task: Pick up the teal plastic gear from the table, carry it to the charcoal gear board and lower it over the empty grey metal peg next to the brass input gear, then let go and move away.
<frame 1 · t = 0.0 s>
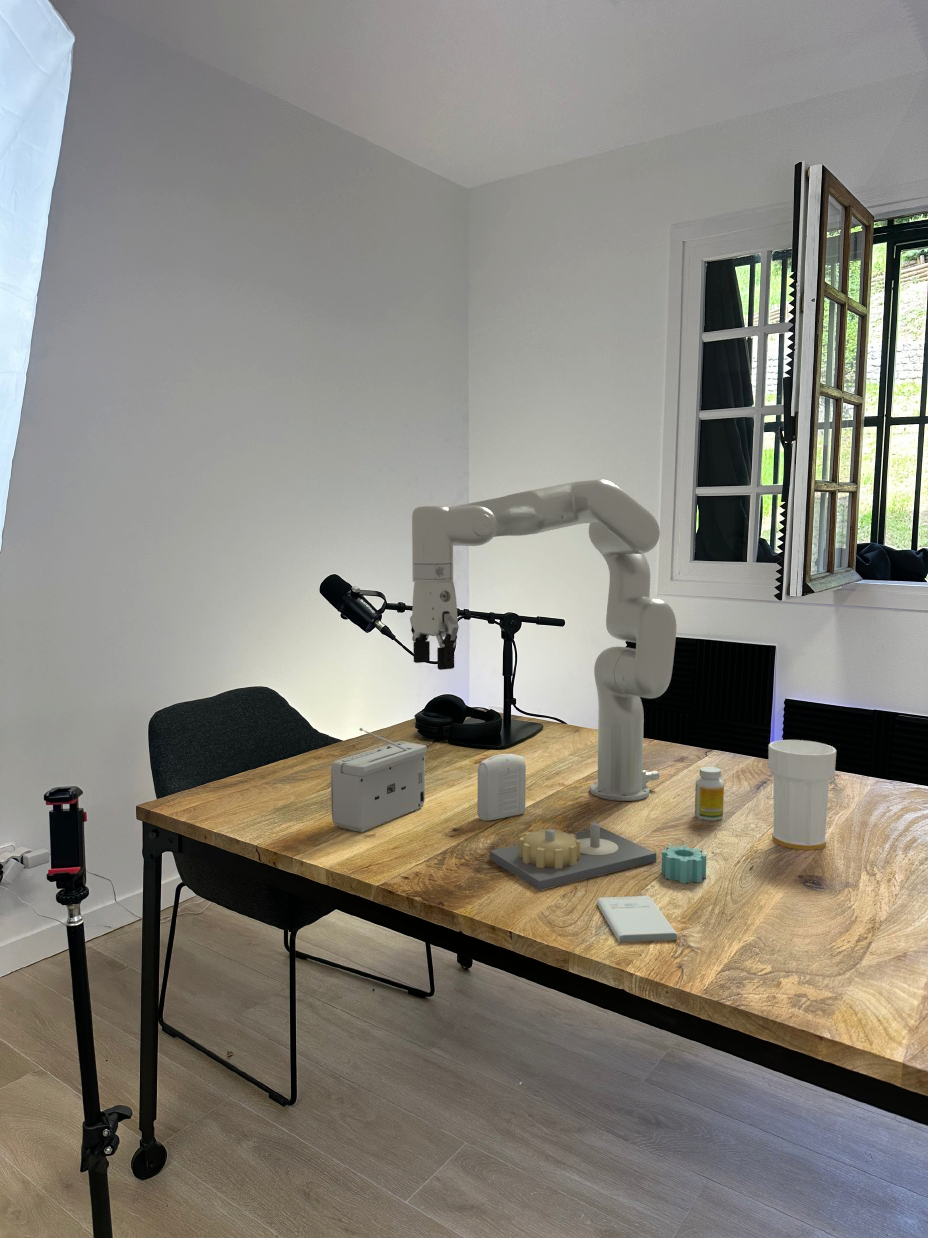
hand: (433, 665, 158), 31 cm above the table, tool pointing down, fingers open, 9 cm apart
supplement bottle: (708, 817, 168), on the table
cup: (798, 842, 154), on the table
stereo radio cassette player: (381, 818, 168), on the table
teal gear: (683, 874, 139), on the table
gear board: (572, 860, 145), on the table
external hard drive: (635, 926, 122), on the table
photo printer: (501, 816, 169), on the table
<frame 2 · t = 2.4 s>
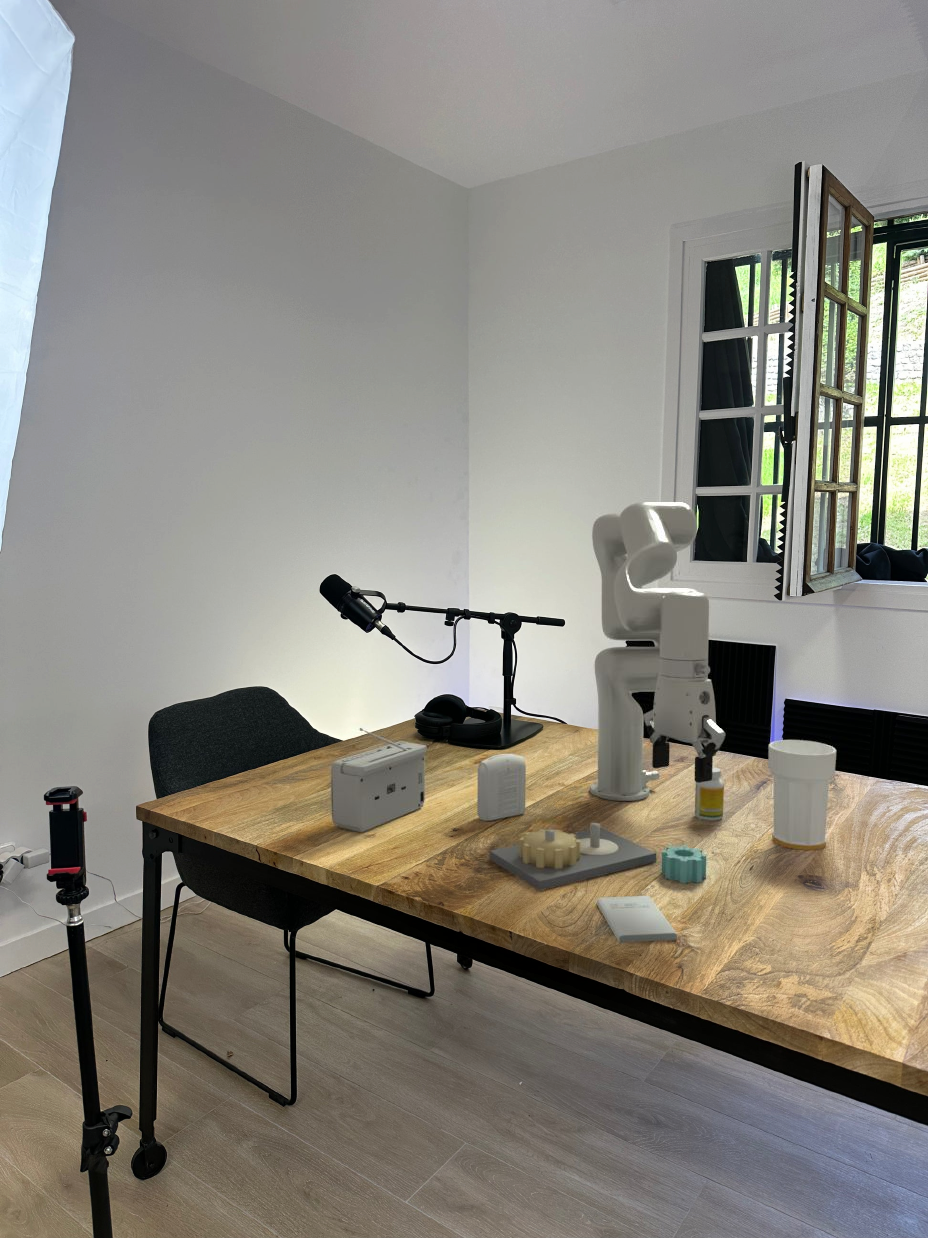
hand: (681, 774, 137), 17 cm above the table, tool pointing down, fingers open, 9 cm apart
nothing on the table moved.
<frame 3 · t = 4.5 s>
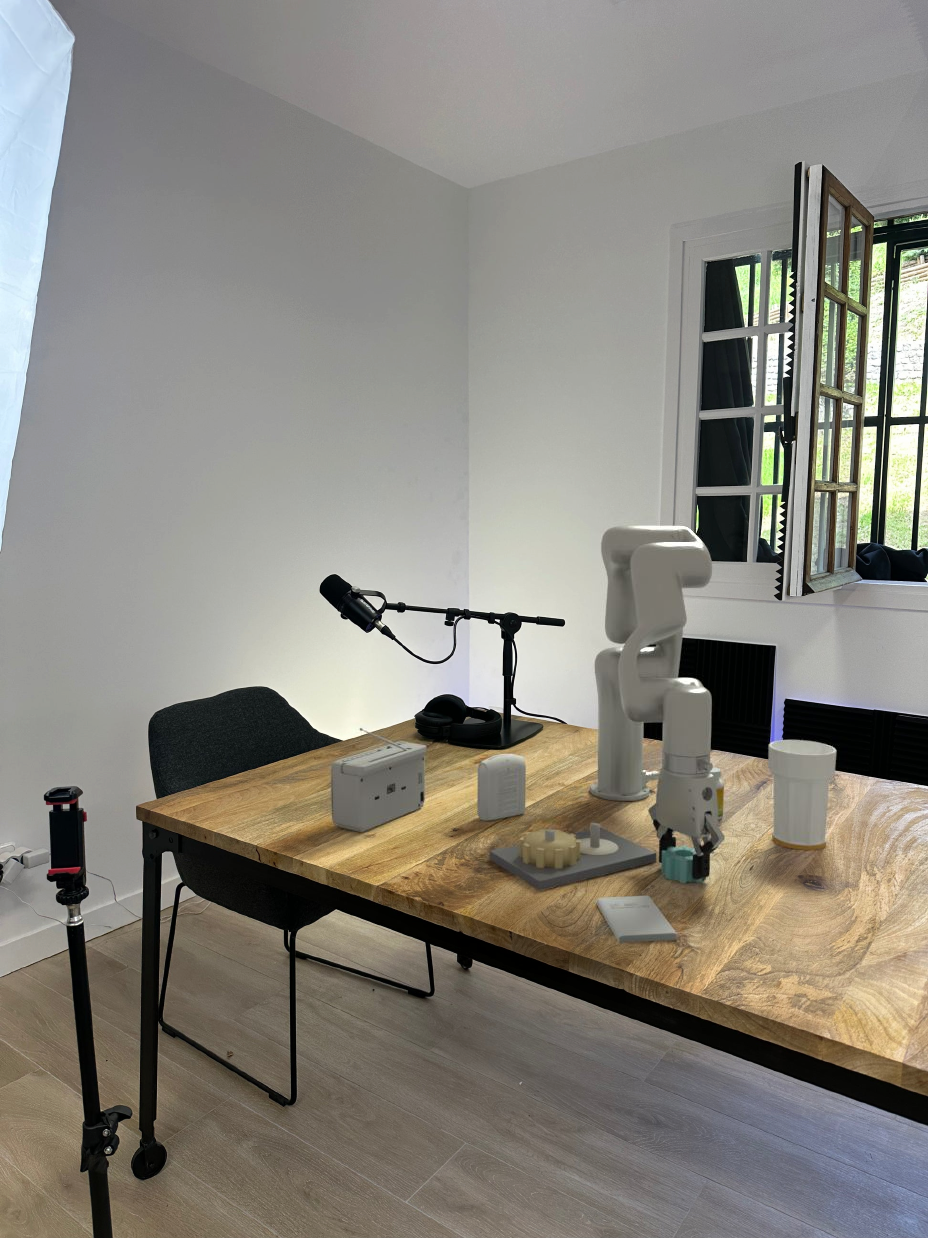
hand: (683, 868, 139), 1 cm above the table, tool pointing down, fingers closed on teal gear, 7 cm apart
teal gear: (683, 874, 139), on the table, touching gripper
everything else where it was.
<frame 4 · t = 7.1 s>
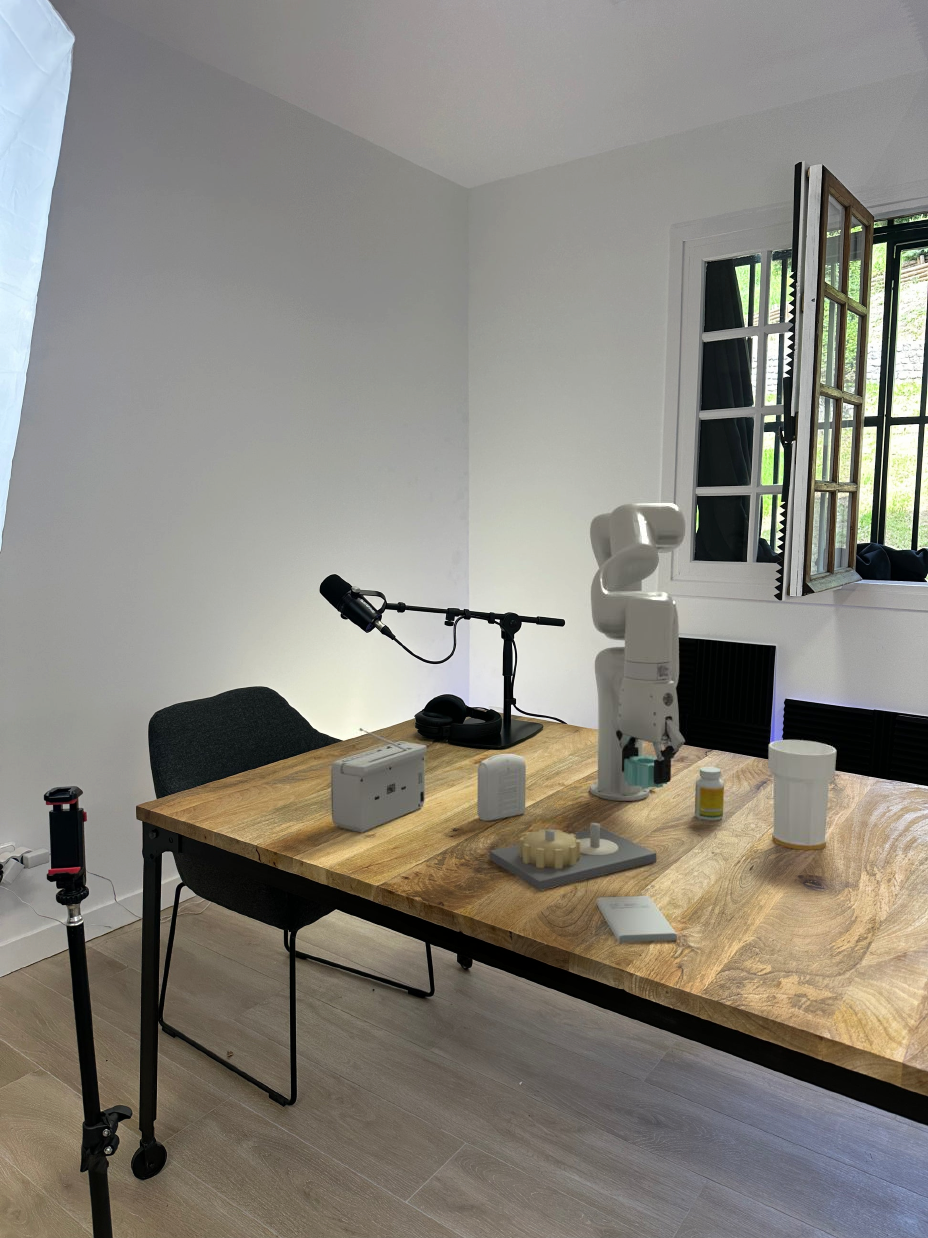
hand: (645, 776, 141), 15 cm above the table, tool pointing down, fingers closed on teal gear, 7 cm apart
teal gear: (645, 782, 141), point 14 cm above the table, touching gripper
everything else where it was.
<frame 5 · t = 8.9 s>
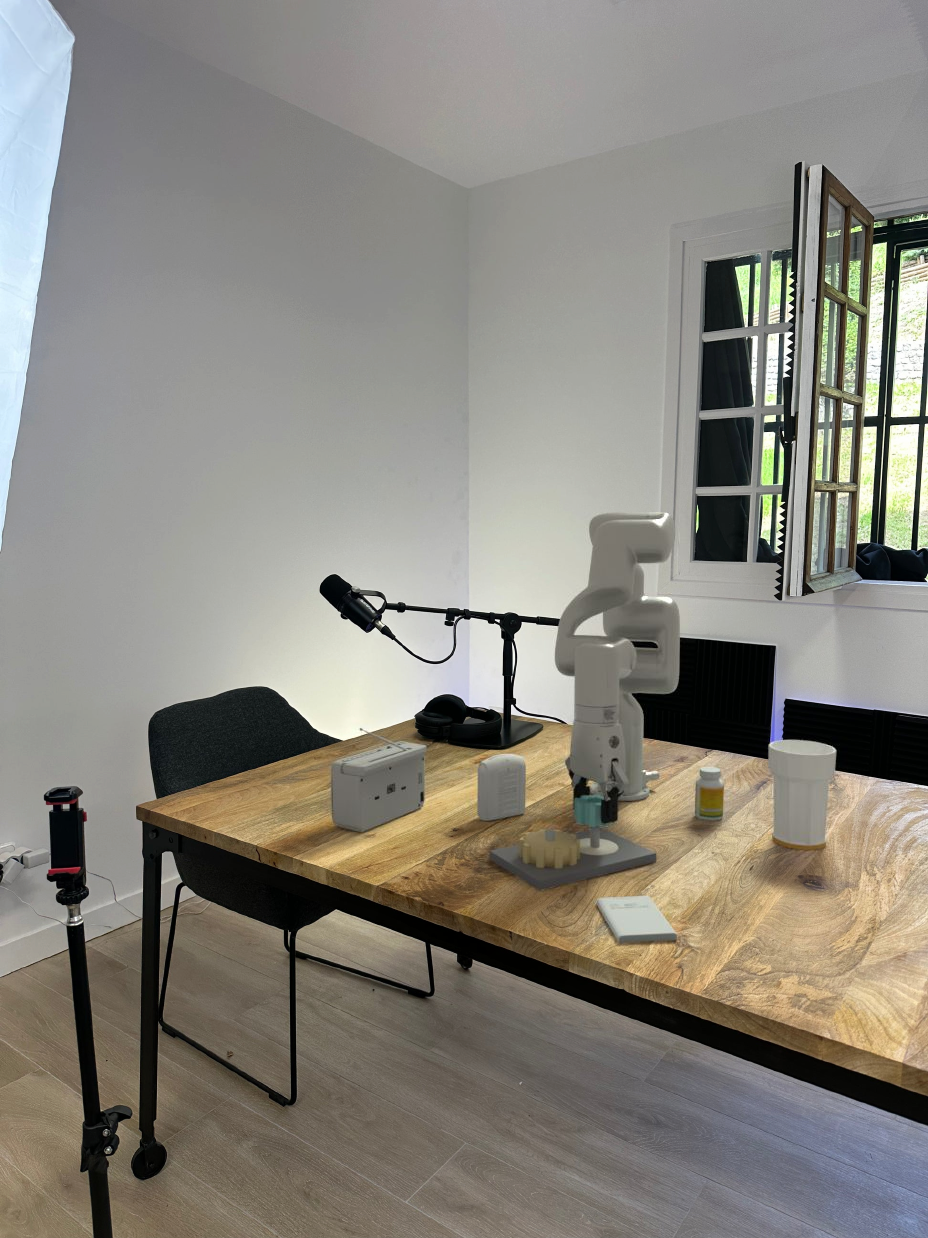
hand: (595, 814, 147), 7 cm above the table, tool pointing down, fingers closed on teal gear, 7 cm apart
teal gear: (594, 820, 147), point 6 cm above the table, touching gripper
everything else where it was.
when the fingers open (4 cm above the table, at t = 10.0 s): teal gear drops 1 cm, resting on gear board.
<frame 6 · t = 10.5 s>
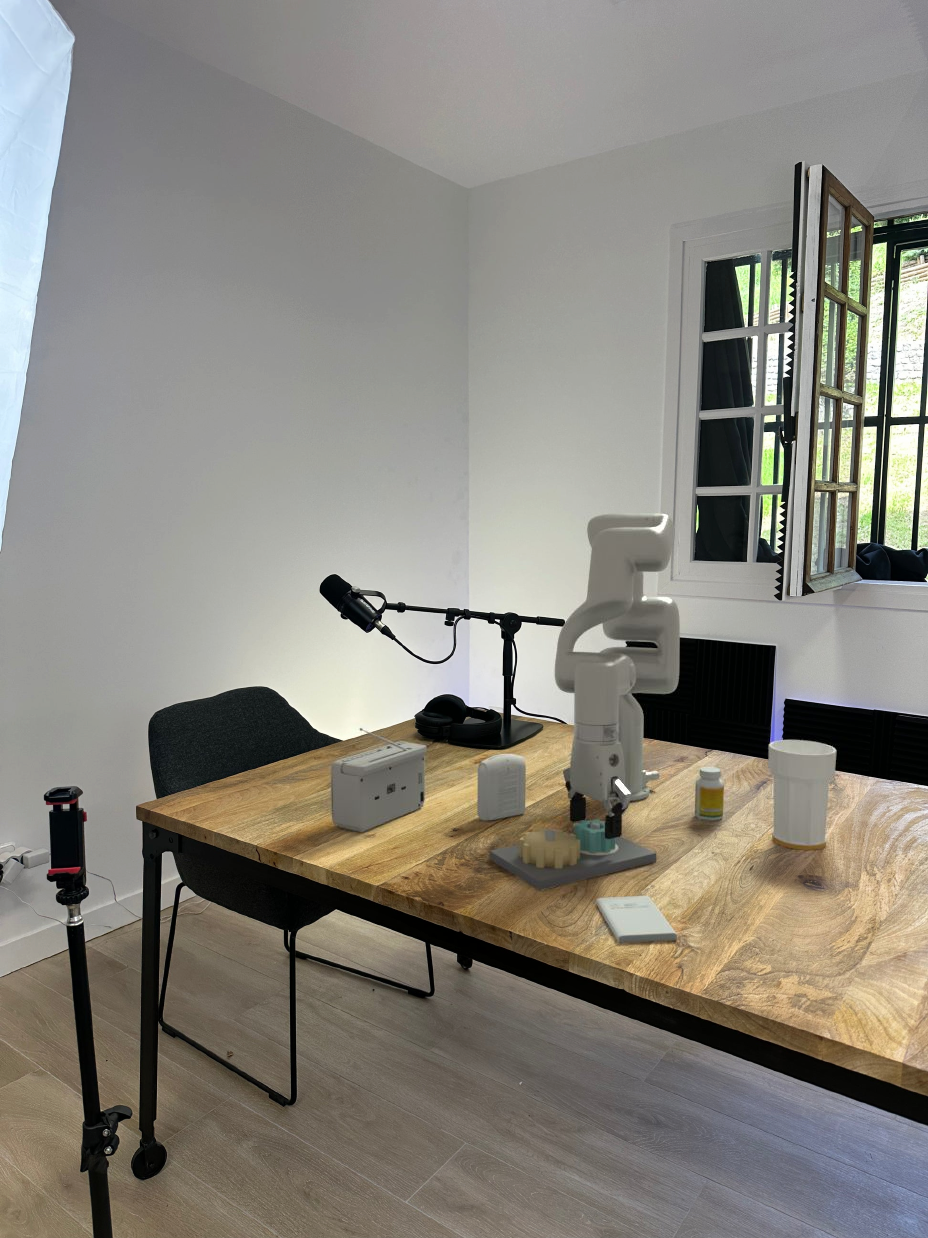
hand: (595, 828, 147), 5 cm above the table, tool pointing down, fingers open, 9 cm apart
teal gear: (594, 846, 147), point 2 cm above the table, touching gear board
everything else where it was.
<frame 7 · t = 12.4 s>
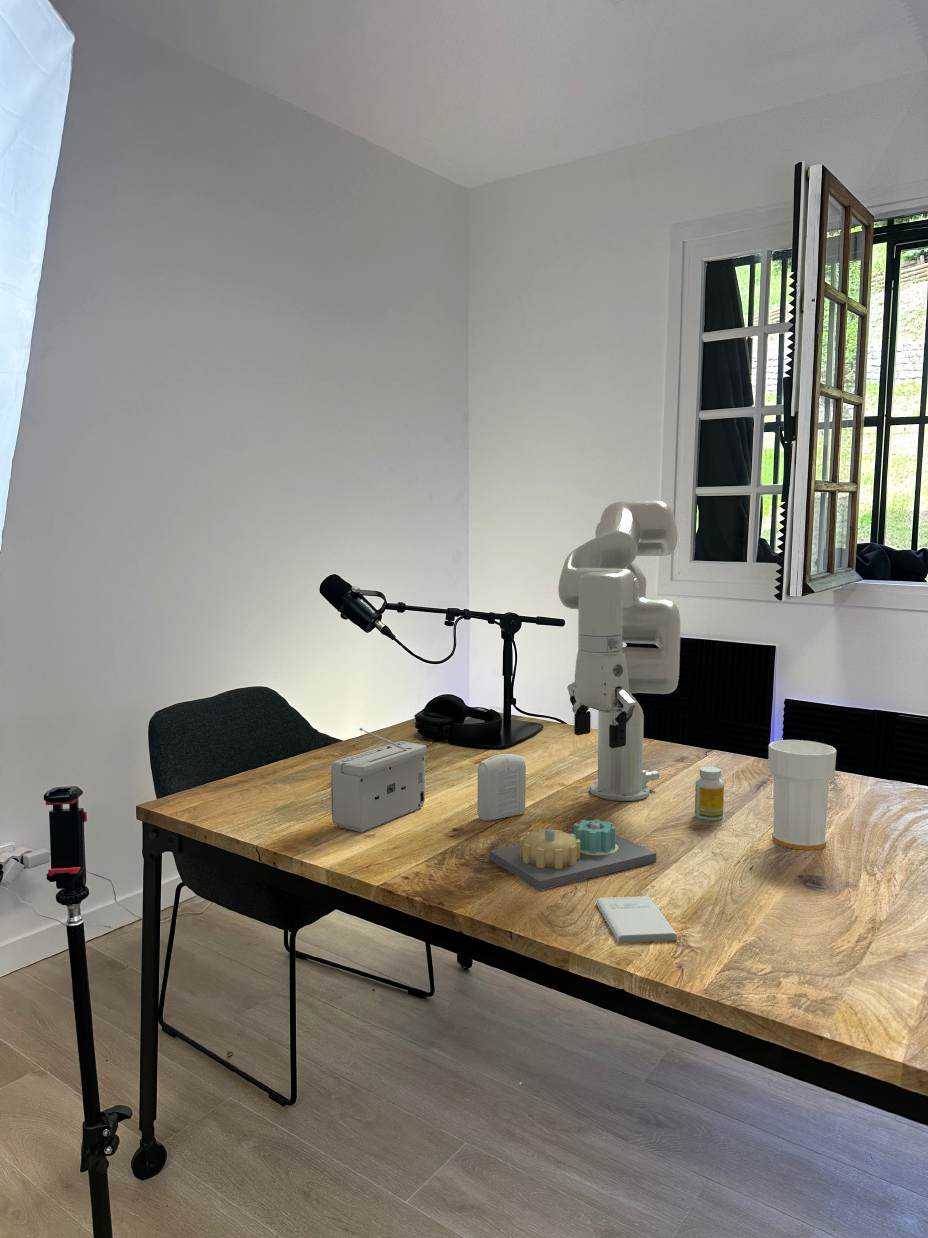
hand: (599, 740, 149), 19 cm above the table, tool pointing down, fingers open, 9 cm apart
nothing on the table moved.
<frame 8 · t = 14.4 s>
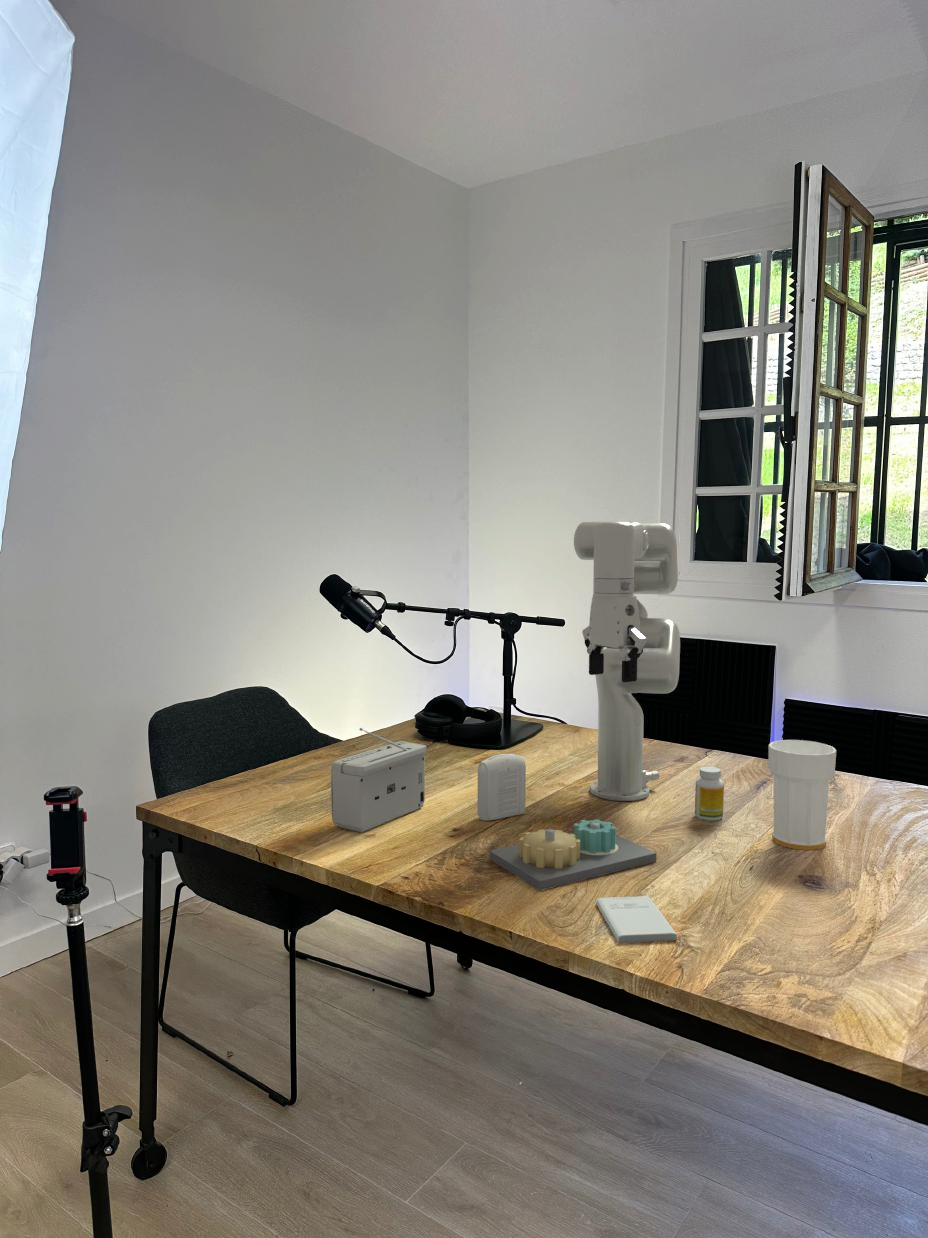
hand: (612, 677, 162), 28 cm above the table, tool pointing down, fingers open, 9 cm apart
nothing on the table moved.
at the end: teal gear 0.0 cm from the target spot on the gear board, point 1.6 cm above the gear board's base; teal gear tilted 0°; the gripper is holding nothing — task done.
